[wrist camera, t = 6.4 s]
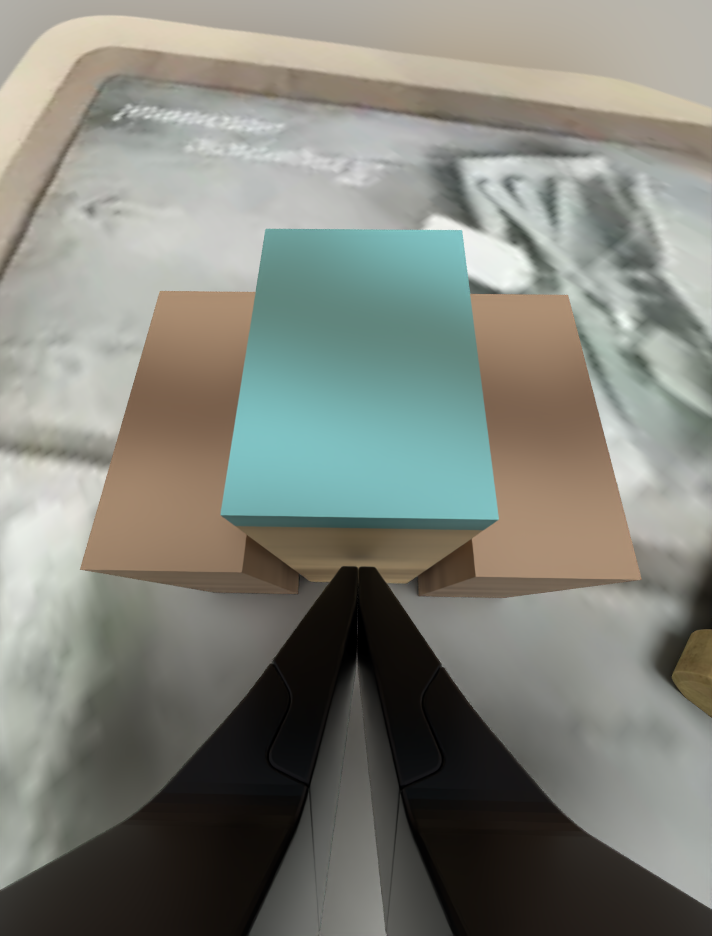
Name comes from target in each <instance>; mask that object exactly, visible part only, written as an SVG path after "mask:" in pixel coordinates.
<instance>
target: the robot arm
mask: <svg viewBox="0 0 712 936" xmlns="http://www.w3.org/2000/svg"><path fill="white" fill-rule="evenodd" d="M357 620H358V632H357ZM356 662H357V663H358V675H359V684H360V694H361V703H362V713H363V722H364V732H365V741H366V751H367V760H368V770H369V779H370V788H371V798H372V807H373V817H374V826H375V836H376V845H377V855H378V864H379V874H380V883H381V893H382V902H383V912H384V921H385V931H386V934H387V936H712V909H710V908H708V907H707V906H705V905H703V904H702V903H700V902H699V901H697V900H695V899H694V898H692V897H690V896H689V895H687V894H686V893H684V892H682V891H681V890H679V889H677V888H676V887H674V886H673V885H671V884H669V883H668V882H666V881H664V880H663V879H661V878H660V877H658V876H656V875H655V874H653V873H651V872H650V871H648V870H647V869H645V868H643V867H642V866H640V865H638V864H637V863H635V862H634V861H632V860H630V859H629V858H627V857H625V856H624V855H622V854H621V853H619V852H617V851H616V850H614V849H612V848H611V847H609V846H608V845H606V844H604V843H603V842H601V841H599V840H598V839H596V838H595V837H593V836H592V835H590V834H588V833H587V832H586V831H584V830H583V829H582V828H581V827H579V826H578V825H577V824H575V823H574V822H573V821H572V820H571V819H570V818H569V817H567V816H566V815H565V814H564V813H563V812H562V811H561V810H560V809H559V808H558V807H557V806H556V805H555V804H554V803H553V802H552V801H551V800H550V798H549V797H548V796H547V795H546V794H545V793H544V792H543V791H542V789H541V788H540V787H539V786H538V785H537V784H536V782H535V781H534V780H533V779H532V778H531V777H530V775H529V774H528V773H527V772H526V771H525V769H524V768H523V767H522V766H521V765H520V764H519V762H518V761H517V760H516V759H515V758H514V757H513V755H512V754H511V753H510V752H509V751H508V749H507V748H506V747H505V746H504V745H503V744H502V742H501V741H500V740H499V739H498V738H497V737H496V735H495V734H494V733H493V732H492V731H491V729H490V728H489V727H488V726H487V725H486V723H485V722H484V721H483V720H482V719H481V717H480V716H479V715H478V714H477V712H476V711H475V710H474V709H473V707H472V706H471V705H470V704H469V702H468V701H467V700H466V698H465V697H464V695H463V694H462V693H461V691H460V690H459V689H458V687H457V686H456V684H455V683H454V682H453V680H452V679H451V677H450V676H449V674H448V673H447V671H446V670H445V668H444V667H442V664H441V663H440V661H439V660H438V658H437V657H436V655H435V654H434V652H433V651H432V649H431V648H430V647H429V645H428V644H427V642H426V641H425V639H424V638H423V636H422V635H421V633H420V632H419V630H418V629H417V627H416V626H415V624H414V623H413V622H412V620H411V619H410V617H409V616H408V614H407V613H406V611H405V610H404V608H403V607H402V605H401V604H400V602H399V601H398V599H397V598H396V597H395V595H394V594H393V592H392V591H391V589H390V588H389V586H388V585H387V583H386V582H385V580H384V579H383V577H382V576H381V574H380V573H379V572H378V570H377V569H376V568H375V567H373V566H360V567H359V569H358V567H356V566H342V567H341V568H340V569H339V570H338V572H337V573H336V574H335V576H334V577H333V579H332V580H331V581H330V583H329V584H328V585H327V587H326V588H325V589H324V591H323V592H322V594H321V595H320V596H319V598H318V599H317V600H316V602H315V603H314V605H313V606H312V607H311V609H310V610H309V611H308V613H307V614H306V615H305V617H304V618H303V620H302V621H301V622H300V624H299V625H298V626H297V628H296V629H295V631H294V632H293V633H292V635H291V636H290V637H289V639H288V640H287V642H286V643H285V644H284V646H283V647H282V648H281V650H280V651H279V652H278V654H277V655H276V657H275V658H274V659H273V661H272V663H271V664H270V665H269V666H268V667H267V669H266V670H265V671H264V673H263V674H262V676H261V677H260V678H259V680H258V681H257V682H256V683H255V685H254V686H253V687H252V689H251V690H250V691H249V692H248V694H247V695H246V696H245V698H244V699H243V700H242V701H241V702H240V703H239V705H238V706H237V707H236V708H235V709H234V710H233V711H232V713H231V714H230V715H229V716H228V717H227V718H226V719H225V721H224V722H223V723H222V724H221V725H220V726H219V727H218V728H217V729H216V730H215V732H214V733H213V734H212V735H211V736H210V737H209V738H208V739H207V740H206V741H205V743H204V744H203V745H202V746H201V747H200V748H199V749H198V750H197V751H196V752H195V753H194V755H193V756H192V757H191V758H190V759H189V760H188V761H187V762H186V763H185V764H184V766H183V767H182V768H181V769H180V770H179V771H178V772H177V773H176V774H175V775H174V777H173V778H172V779H171V780H170V781H169V782H168V783H167V784H166V785H165V786H164V787H163V788H162V789H161V790H160V791H159V792H158V793H157V794H156V795H155V796H154V797H153V798H152V799H151V800H150V801H149V802H148V803H147V804H145V805H144V806H143V807H142V808H140V809H139V810H138V811H137V812H136V813H134V814H133V815H131V816H130V817H129V818H127V819H126V820H124V821H123V822H121V823H119V824H118V825H116V826H114V827H112V828H111V829H109V830H107V831H105V832H103V833H102V834H100V835H98V836H96V837H95V838H93V839H91V840H89V841H87V842H86V843H84V844H82V845H80V846H78V847H77V848H75V849H73V850H71V851H69V852H68V853H66V854H64V855H62V856H60V857H59V858H57V859H55V860H53V861H52V862H50V863H48V864H46V865H44V866H43V867H41V868H39V869H37V870H35V871H34V872H32V873H30V874H28V875H26V876H25V877H23V878H21V879H19V880H18V881H16V882H14V883H12V884H10V885H9V886H7V887H5V888H3V889H1V890H0V936H319V931H320V926H321V919H322V912H323V904H324V897H325V890H326V883H327V875H328V868H329V861H330V853H331V846H332V839H333V831H334V824H335V817H336V810H337V802H338V795H339V788H340V780H341V773H342V766H343V759H344V751H345V744H346V737H347V729H348V722H349V715H350V708H351V700H352V693H353V686H354V678H355V671H356Z"/></svg>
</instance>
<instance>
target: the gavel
mask: <svg viewBox="0 0 712 936" xmlns="http://www.w3.org/2000/svg"><path fill="white" fill-rule="evenodd" d="M711 620H712V618H711ZM672 680H673V682H674V684H675V685H676V686H677V688H678V689H679V690H680V691H681V693H682V694H683V695H684V697H685V698H687V699H688V700H689V701H691V702H692V703H693V704H695V705H696V706H697V707H699V708H700V709H701V710H702V711H704V712H705V713H706V714H708V715H709V716H710V717H712V629H702V630H697V631H694V632H693V633H692V634H691V635H690V637H689V640H688V642H687V644H686V646H685V648H684V650H683V653H682V655H681V657H680V659H679V661H678V663H677V665H676V668H675V670H674V672H673V674H672Z"/></svg>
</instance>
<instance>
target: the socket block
mask: <svg viewBox="0 0 712 936" xmlns="http://www.w3.org/2000/svg"><path fill="white" fill-rule="evenodd" d="M255 293H256V292H198V291H160V292H159V296H158V299H157V303H156V306H155V310H154V313H153V317H152V320H151V324H150V327H149V331H148V334H147V338H146V341H145V345H144V348H143V352H142V355H141V359H140V362H139V366H138V369H137V373H136V376H135V380H134V383H133V387H132V390H131V394H130V397H129V401H128V404H127V408H126V411H125V414H124V418H123V421H122V425H121V428H120V432H119V435H118V439H117V442H116V446H115V449H114V453H113V456H112V460H111V463H110V467H109V470H108V474H107V477H106V481H105V484H104V488H103V491H102V495H101V498H100V502H99V505H98V509H97V512H96V516H95V519H94V523H93V526H92V530H91V533H90V536H89V540H88V543H87V547H86V550H85V554H84V557H83V561H82V564H81V568H80V570H86V571H92V572H97V573H103V574H109V575H115V576H121V577H127V578H133V579H138V580H144V581H150V582H156V583H162V584H168V585H174V586H179V587H185V588H191V589H197V590H203V591H209V592H219V593H272V594H298V586H299V573H298V572H297V571H295V570H294V569H292V568H291V567H290V566H288V565H287V564H286V563H284V562H283V561H282V560H280V559H279V558H278V557H276V556H275V555H274V554H272V553H271V552H269V551H268V550H267V549H265V548H264V547H263V546H261V545H260V544H259V543H257V542H256V541H255V540H253V539H252V538H251V537H249V536H248V535H246V534H245V533H244V532H242V531H241V530H240V529H238V528H237V527H236V526H234V525H233V524H232V523H230V522H229V521H228V520H226V519H225V518H223V517H222V516H221V515H220V514H221V507H222V501H223V495H224V488H225V482H226V476H227V469H228V463H229V457H230V451H231V444H232V438H233V432H234V425H235V419H236V413H237V406H238V400H239V394H240V387H241V381H242V375H243V368H244V362H245V356H246V350H247V343H248V337H249V331H250V324H251V318H252V312H253V305H254V299H255ZM470 297H471V305H472V313H473V321H474V328H475V336H476V344H477V352H478V360H479V367H480V375H481V383H482V391H483V399H484V406H485V414H486V422H487V430H488V438H489V445H490V453H491V461H492V469H493V476H494V484H495V492H496V500H497V508H498V515H499V520H498V521H496V522H495V523H494V524H492V525H491V526H489V527H488V528H486V529H485V530H483V531H482V532H480V533H479V534H478V535H476V536H475V537H473V538H472V539H470V540H469V541H467V542H466V543H465V544H463V545H462V546H460V547H459V548H457V549H456V550H454V551H453V552H452V553H450V554H449V555H447V556H446V557H444V558H443V559H441V560H440V561H438V562H437V563H436V564H434V565H433V566H431V567H430V568H428V569H427V570H425V571H424V572H423V573H421V574H420V575H418V590H419V596H432V597H485V598H507V597H514V596H522V595H529V594H537V593H545V592H552V591H560V590H567V589H575V588H583V587H590V586H598V585H605V584H613V583H621V582H628V581H636V580H642V579H641V575H640V571H639V568H638V564H637V560H636V556H635V552H634V548H633V544H632V541H631V537H630V533H629V529H628V525H627V521H626V517H625V513H624V510H623V506H622V502H621V498H620V494H619V490H618V486H617V483H616V479H615V475H614V471H613V467H612V463H611V459H610V455H609V452H608V448H607V444H606V440H605V436H604V432H603V428H602V425H601V421H600V417H599V413H598V409H597V405H596V401H595V397H594V394H593V390H592V386H591V382H590V378H589V374H588V370H587V367H586V363H585V359H584V355H583V351H582V347H581V343H580V339H579V336H578V332H577V328H576V324H575V320H574V316H573V312H572V309H571V305H570V301H569V297H568V295H518V294H470Z"/></svg>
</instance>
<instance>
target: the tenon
mask: <svg viewBox="0 0 712 936" xmlns="http://www.w3.org/2000/svg"><path fill="white" fill-rule="evenodd" d="M220 515H221V516H222V517H223V518H225V519H226V520H228V521H229V522H230V523H232V524H233V525H234V526H236V527H237V528H238V529H240V530H241V531H242V532H244V533H245V534H246V535H248V536H249V537H251V538H252V539H253V540H255V541H256V542H257V543H259V544H260V545H261V546H263V547H264V548H265V549H267V550H268V551H269V552H271V553H272V554H274V555H275V556H276V557H278V558H279V559H280V560H282V561H283V562H284V563H286V564H287V565H288V566H290V567H291V568H292V569H294V570H295V571H297V572H298V573H299V574H301V575H302V576H303V577H305V578H306V579H307V580H309V581H310V582H330V581H331V580H332V579H333V577H334V576H335V574H336V573H337V572H338V570H339V569H340V568H341V567H342V566H356V567H358V569H359V567H360V566H373V567H375V568H376V569H377V570H378V572H379V573H380V574H381V576H382V577H383V579H384V580H385V582H386V583H403V584H407V583H408V582H410V581H411V580H412V579H414V578H415V577H417V576H418V575H420V574H421V573H423V572H424V571H425V570H427V569H428V568H430V567H431V566H433V565H434V564H436V563H437V562H438V561H440V560H441V559H443V558H444V557H446V556H447V555H449V554H450V553H452V552H453V551H454V550H456V549H457V548H459V547H460V546H462V545H463V544H465V543H466V542H467V541H469V540H470V539H472V538H473V537H475V536H476V535H478V534H479V533H480V532H482V531H483V530H485V529H486V528H488V527H489V526H491V525H492V524H494V523H495V522H496V521H498V520H499V515H498V508H497V500H496V492H495V484H494V476H493V469H492V461H491V453H490V445H489V438H488V430H487V422H486V414H485V406H484V399H483V391H482V383H481V375H480V367H479V360H478V352H477V344H476V336H475V328H474V321H473V313H472V305H471V297H470V289H469V282H468V274H467V266H466V258H465V250H464V243H463V235H462V230H350V229H266V230H265V236H264V242H263V249H262V255H261V261H260V267H259V274H258V280H257V286H256V293H255V299H254V305H253V312H252V318H251V324H250V331H249V337H248V343H247V350H246V356H245V362H244V368H243V375H242V381H241V387H240V394H239V400H238V406H237V413H236V419H235V425H234V432H233V438H232V444H231V451H230V457H229V463H228V469H227V476H226V482H225V488H224V495H223V501H222V507H221V514H220Z"/></svg>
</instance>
